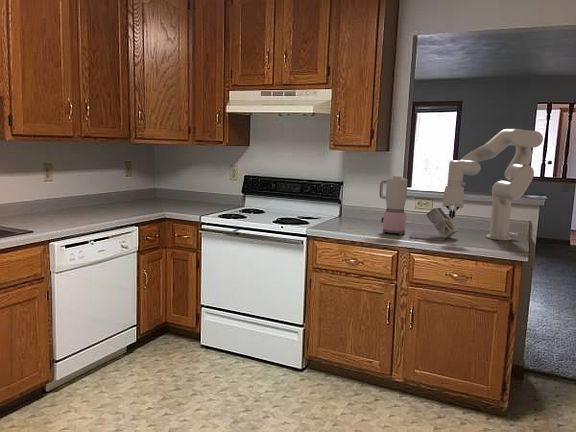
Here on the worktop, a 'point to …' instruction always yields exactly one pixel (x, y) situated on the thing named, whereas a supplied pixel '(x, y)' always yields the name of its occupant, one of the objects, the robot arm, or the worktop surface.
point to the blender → (394, 204)
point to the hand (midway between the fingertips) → (451, 218)
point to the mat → (427, 236)
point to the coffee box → (442, 222)
